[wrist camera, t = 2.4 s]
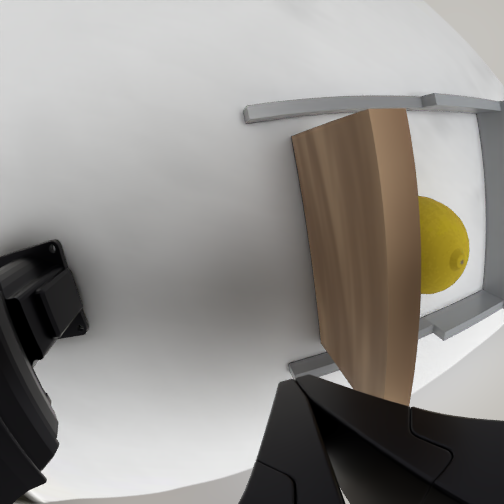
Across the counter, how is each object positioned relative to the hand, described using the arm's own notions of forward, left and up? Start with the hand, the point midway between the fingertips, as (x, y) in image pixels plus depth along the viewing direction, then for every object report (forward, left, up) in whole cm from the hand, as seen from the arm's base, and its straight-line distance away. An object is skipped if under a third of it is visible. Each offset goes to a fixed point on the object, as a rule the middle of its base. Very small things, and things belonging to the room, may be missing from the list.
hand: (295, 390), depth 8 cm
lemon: (+10, 0, -12) cm, 16 cm away
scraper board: (+5, 0, -12) cm, 13 cm away
